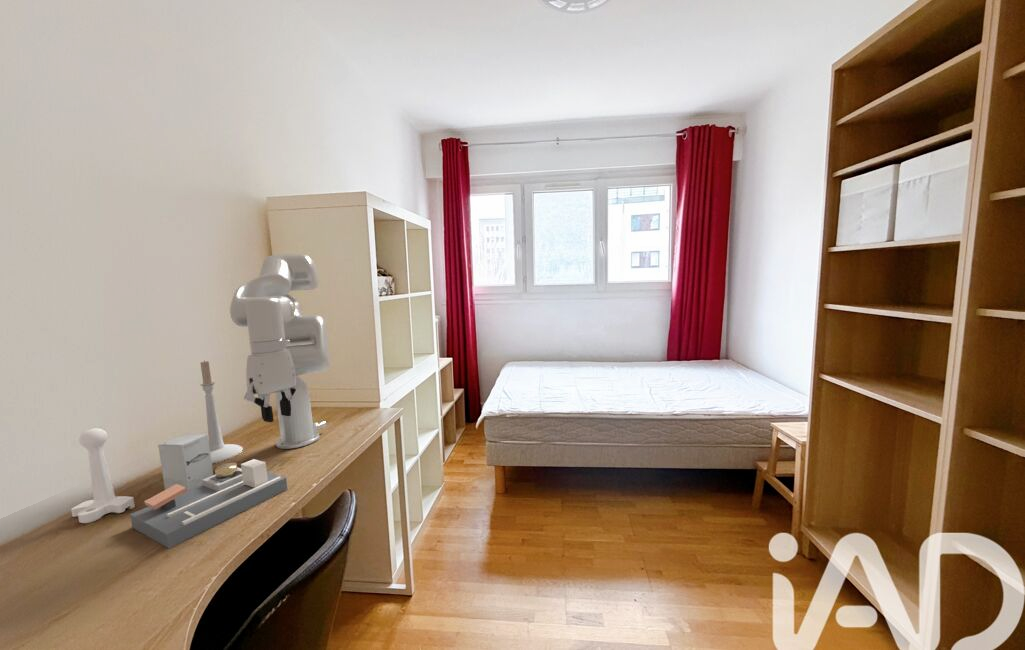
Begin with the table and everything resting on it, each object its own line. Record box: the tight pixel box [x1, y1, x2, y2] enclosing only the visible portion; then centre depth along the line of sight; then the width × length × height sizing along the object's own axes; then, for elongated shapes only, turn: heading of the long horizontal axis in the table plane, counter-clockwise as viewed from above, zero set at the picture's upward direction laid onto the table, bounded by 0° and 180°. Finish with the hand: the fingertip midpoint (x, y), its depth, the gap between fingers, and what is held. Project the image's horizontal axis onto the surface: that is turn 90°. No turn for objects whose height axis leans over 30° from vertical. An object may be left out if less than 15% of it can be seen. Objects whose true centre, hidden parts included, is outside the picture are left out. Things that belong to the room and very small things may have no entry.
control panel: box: [129, 466, 288, 549], centre depth 92 cm, size 24×17×4 cm
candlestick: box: [200, 360, 244, 465], centre depth 120 cm, size 13×13×30 cm
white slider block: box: [240, 458, 268, 488], centre depth 95 cm, size 3×5×5 cm, turn 62°
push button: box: [214, 462, 238, 479], centre depth 97 cm, size 4×4×2 cm
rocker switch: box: [144, 484, 187, 510], centre depth 87 cm, size 6×4×1 cm
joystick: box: [70, 427, 136, 524], centre depth 90 cm, size 11×8×20 cm
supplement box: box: [158, 433, 214, 491], centre depth 103 cm, size 7×7×13 cm
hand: (277, 417), depth 100 cm, fingers open, 3 cm apart
